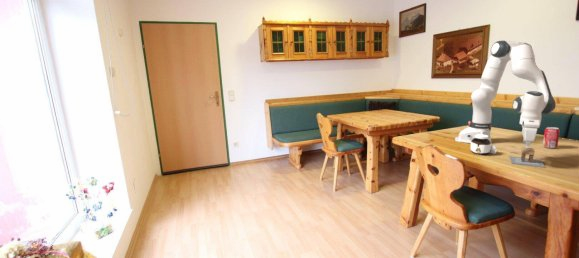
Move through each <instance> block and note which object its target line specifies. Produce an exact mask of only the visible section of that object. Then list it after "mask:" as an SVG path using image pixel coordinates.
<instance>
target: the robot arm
mask: <svg viewBox="0 0 579 258" xmlns="http://www.w3.org/2000/svg"><path fill="white" fill-rule="evenodd" d="M533 49H534V48H533V47H532V45H531V44H529V43H527V42H521V41H517V40H512V41H511V40H498V41H496V42H494V43H493V44H492V46H491V48H490V56H489V58H488V60H487V61H486V64H485V66H484V69H483V71H482V75H481V78H480V79H481V80H480V85H479V88H477V89H475V90H473V92H472V93H471V96H470V99H471V101H472V103H471V104H472V118H471V119H472V120H471V121H470V120H469V121H467V122H468V126H467V127H465V128H463V129H462V130H460V132H459V134H458V136H455V138H454V140H455V142H457V143H458V142H459V143H467V144H471V141H472V140H473V139H474V138H475V135H476V134H482V135H487V136H488V139H489V140H490V142H491V143H492V144H493V142H492V139H491V138H492V137H491V131H492V117H493V111H492V101H494V100H495V98H496V97H497V94H498V91H499V86H500V82H501V80H502V77H503V75H504V72H505V69H506V66H507V64H508V62H510V67H511V73H512V75H514V76H515V77H517V78H518V79H519V78H520V79H523V80H527V81H529V82H531V83H533V84H535V86H536V89H537V91H536V90H535V91H533V90H530V91H527V92H524V94H523V95H521V96H520V95H519V96H517V97H515V99H513V101H512V109H513V110H514V112H516V113H518V114H519V113H520V117H519V118H520V119H519V125H521V128H522V130H521V135H522V136H523V141H522V142H523V144H524V148H530V147H531V146H530V145H531V144H532V143H531V142H534V141H535V140H536V137H537V132H538V129H539V128H540V126H541V122H542V115H548V114H550V113H551V112H553V111H554V110H555V109H556V105H557V104H556V100H555V97H553V94H552V92H551V91H552V90H551V88H550V86H549V82H548V79H547V76H546V74H545V72H544V70H542V69H540V68H539V66H538V65H537V63H536V55H535V52H534V50H533Z"/></svg>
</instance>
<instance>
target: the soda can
mask: <svg viewBox="0 0 579 258" xmlns="http://www.w3.org/2000/svg"><path fill="white" fill-rule="evenodd" d="M543 132H544V134H543V141H542V147H543V148H546V149H551V150H552V149H553V150H555V149H557V148H558V146H559V139H560V133H561V132H560V128H559V127H555V126H547V127H546V128H545V129H544V131H543Z"/></svg>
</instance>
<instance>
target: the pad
mask: <svg viewBox="0 0 579 258" xmlns="http://www.w3.org/2000/svg"><path fill="white" fill-rule="evenodd" d="M509 160H510V163H511V165H519V166H528V167H534V168H535V167H536V168H537V167H538V168H546V167H545V165H544V163H543V161H542V160H541V158H533V163H530V161H529V157H525V162H522V160H521V157H520V156H513V155H511V156H510V155H509Z"/></svg>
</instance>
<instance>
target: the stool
mask: <svg viewBox="0 0 579 258" xmlns="http://www.w3.org/2000/svg"><path fill="white" fill-rule="evenodd" d="M535 152H536V149H534V148H532V147H531V148H530V147H529V148H525V147H521V155H520V156H521V160H522V162H525V158H526V155H529V156H528V158H529V161H530V163H533V159H534V156H535Z"/></svg>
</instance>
